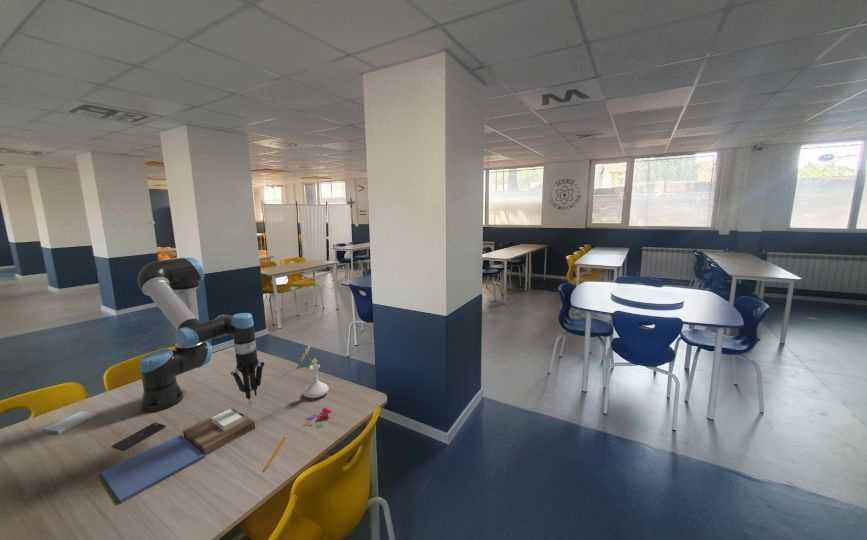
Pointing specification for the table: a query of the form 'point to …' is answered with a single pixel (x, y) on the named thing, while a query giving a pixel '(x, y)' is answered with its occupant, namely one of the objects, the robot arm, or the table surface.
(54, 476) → the table surface
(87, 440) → the table surface
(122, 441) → the smartphone
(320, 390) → the flower in vase
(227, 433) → the brown board
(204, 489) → the table surface
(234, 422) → the tile
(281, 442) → the pencil
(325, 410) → the toy pieces
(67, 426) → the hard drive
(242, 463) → the table surface
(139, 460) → the mat
